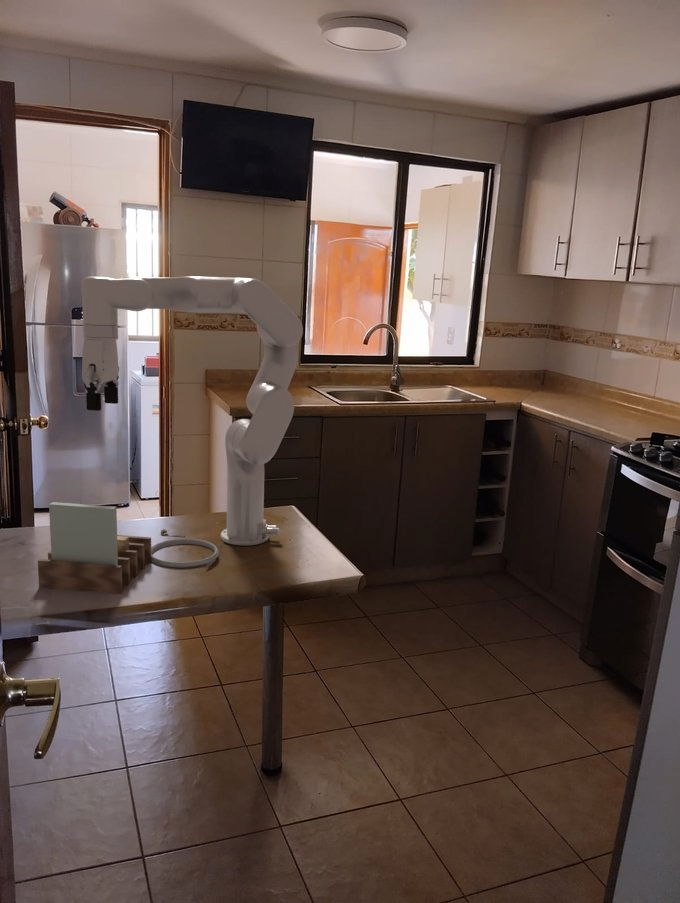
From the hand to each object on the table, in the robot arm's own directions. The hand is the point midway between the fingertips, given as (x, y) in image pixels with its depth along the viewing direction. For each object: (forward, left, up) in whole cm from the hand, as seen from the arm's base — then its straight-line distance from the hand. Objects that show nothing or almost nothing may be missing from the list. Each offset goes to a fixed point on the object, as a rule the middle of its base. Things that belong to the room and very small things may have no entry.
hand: (103, 406), depth 172 cm
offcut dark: (-4, +12, -35) cm, 38 cm away
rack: (-4, +15, -36) cm, 39 cm away
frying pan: (-16, -5, -37) cm, 41 cm away
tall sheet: (-4, +21, -35) cm, 41 cm away
